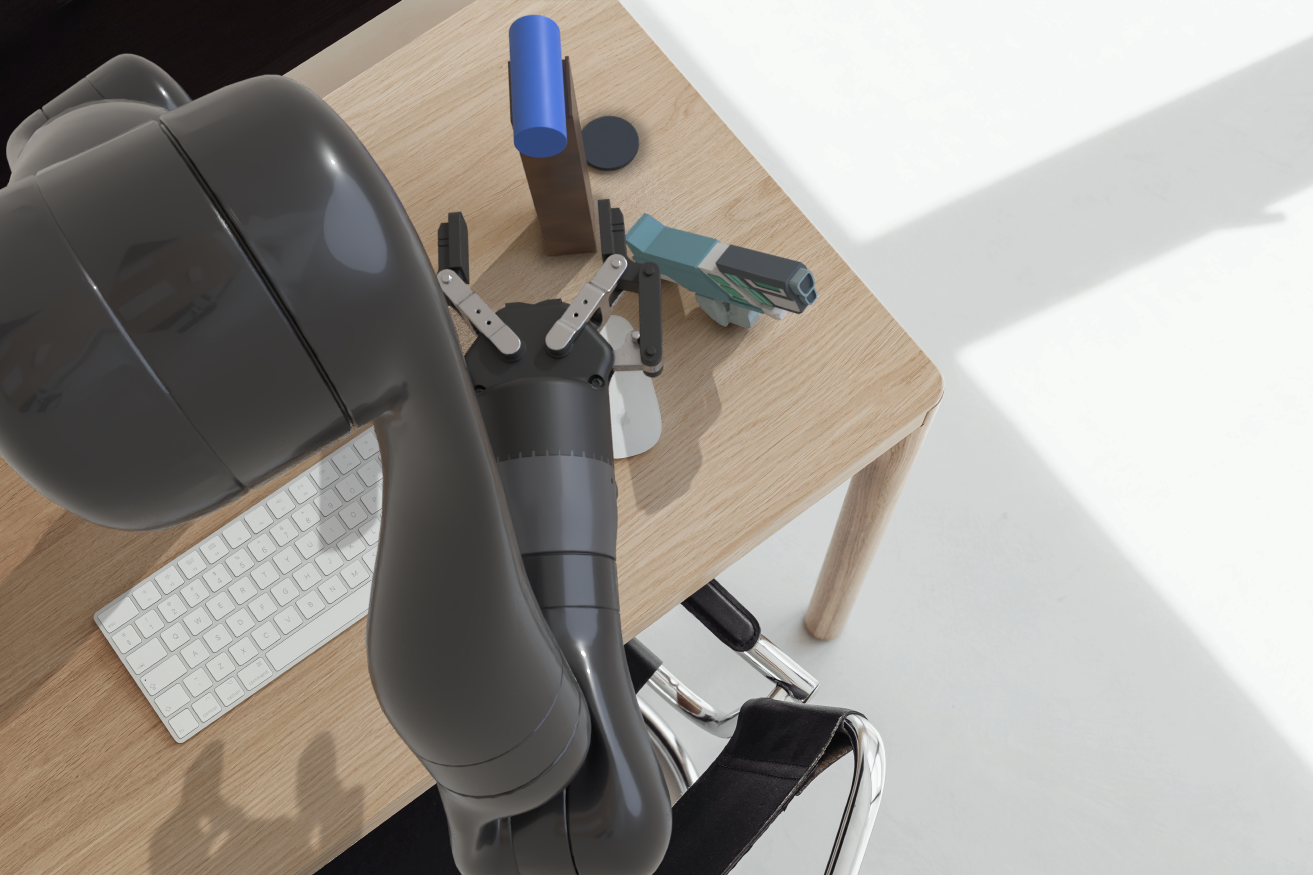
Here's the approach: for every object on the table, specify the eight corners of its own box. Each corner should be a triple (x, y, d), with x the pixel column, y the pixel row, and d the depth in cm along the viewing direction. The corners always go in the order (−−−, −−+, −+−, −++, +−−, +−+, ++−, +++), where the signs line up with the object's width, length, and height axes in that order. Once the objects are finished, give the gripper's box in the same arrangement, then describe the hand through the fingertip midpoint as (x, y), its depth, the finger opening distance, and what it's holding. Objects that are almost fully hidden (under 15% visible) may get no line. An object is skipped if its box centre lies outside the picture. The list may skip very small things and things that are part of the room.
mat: (580, 173, 92) (580, 170, 92) (577, 121, 94) (576, 118, 93) (641, 168, 92) (641, 165, 92) (636, 116, 94) (636, 113, 93)
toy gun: (831, 371, 79) (783, 286, 72) (671, 316, 92) (618, 240, 85) (857, 337, 80) (812, 250, 73) (695, 287, 93) (644, 209, 86)
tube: (569, 155, 70) (563, 125, 66) (518, 160, 70) (509, 129, 66) (563, 47, 72) (556, 12, 69) (513, 51, 72) (504, 17, 69)
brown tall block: (548, 256, 90) (510, 121, 70) (545, 207, 91) (507, 61, 72) (597, 252, 90) (572, 115, 70) (593, 203, 91) (568, 55, 72)
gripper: (677, 449, 49) (651, 164, 54) (390, 474, 50) (390, 188, 54) (679, 487, 57) (655, 233, 62) (428, 509, 57) (425, 253, 62)
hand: (530, 212), depth 58 cm, fingers open, 8 cm apart
